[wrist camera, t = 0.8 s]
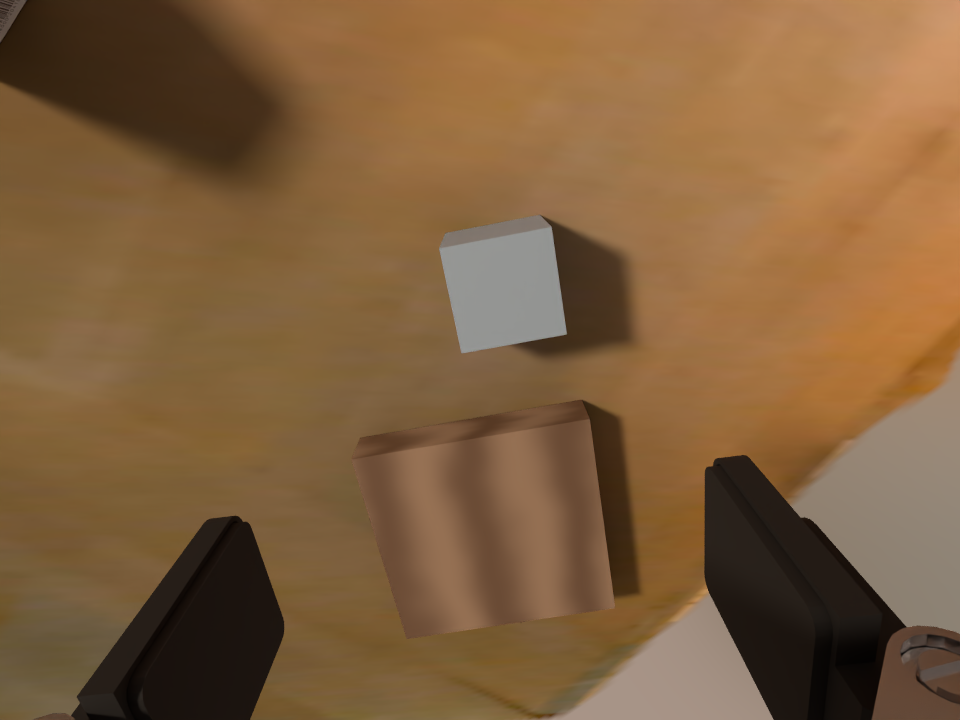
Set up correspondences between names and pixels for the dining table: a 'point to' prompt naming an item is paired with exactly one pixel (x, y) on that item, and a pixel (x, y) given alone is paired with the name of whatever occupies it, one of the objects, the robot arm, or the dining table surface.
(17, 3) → the coffee box
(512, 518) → the walnut base
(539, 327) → the light grey cube
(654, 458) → the dining table surface
